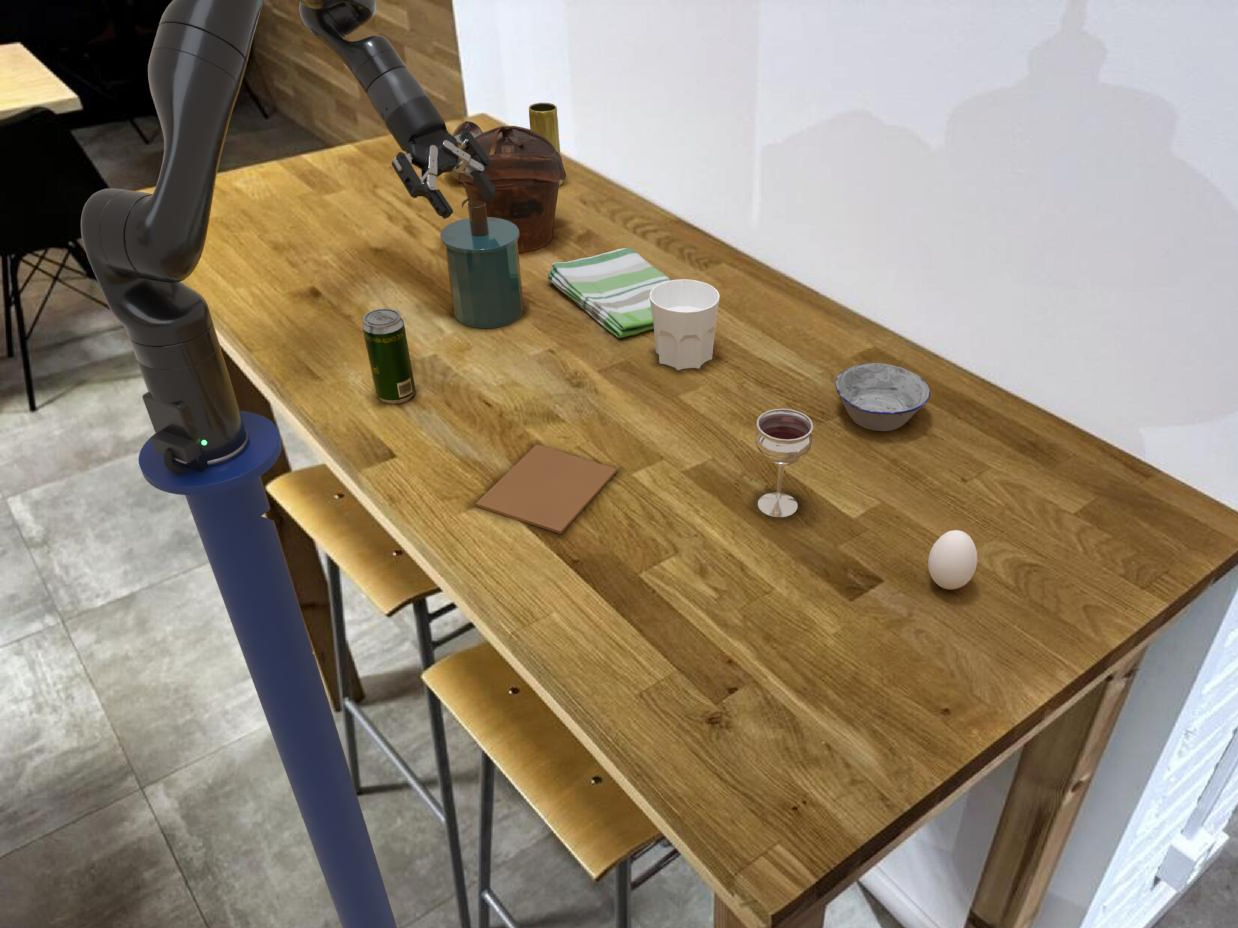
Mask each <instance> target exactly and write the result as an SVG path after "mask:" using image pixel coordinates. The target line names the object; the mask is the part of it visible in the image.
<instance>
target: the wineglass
mask: <svg viewBox="0 0 1238 928" xmlns="http://www.w3.org/2000/svg"><path fill="white" fill-rule="evenodd" d="M756 426H757V429H756V432H755V437H754V442H755V446H756V449H757V451H758V453H759V455H761V457H763V458H764V459H765V460H766V461H768V462H769V463H771V464H772V465H776V466H777V479H776V480H777V482H776V483H777V484H776V492H768V493H766V494H764V495H762V496H761V497H759V499H758V501H757V507H758V509H759V510H760V511H761V512H762V513H763V514H765V515H767V516H770V517H773V518H786V517H790V516H791V515H793V514H794V513H795V512H796V511H797V510H798V505H799V504H798V502H797V500H796V499H795V498H794V497H793V496H791V495H789V494H787V493H783V492H782V487H783V479H784V478H783V477H784V472H785V471H784V470H785V466H791V465H794V464H796V463H798V462H800V461H801V460H803V459H804V458H806V456H807V455H808V453H809V452H810V449H811V447H812V444H813V434H812V431H813V430H814V423H813V422H812V419H811V418H810V417H809V416H808V415H806V414H805V413H802V412H801V411H799V410H794V409H791V408H773V409H770V410H767V411H764V412H763V413H762V414H760V415H759V417H758V418H757V419H756Z"/></svg>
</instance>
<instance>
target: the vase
mask: <svg viewBox="0 0 1238 928" xmlns="http://www.w3.org/2000/svg"><path fill="white" fill-rule="evenodd" d="M528 118H529V119H528V121H529V129H530V130H533V131H535V132H537V133H539V134H541V135H542V136H544V137H545V138H546V139H547V140H548V141H549V142H550V143H551V144H552V145H553V146H554V148H555V150H556V151H557V152H558V153H559V154H560V156H561V157H562V153H561V144H560V131H559V118H558V107H557V106H556V104H554V103H551V102H536V103H532V104H530V105H529V106H528ZM559 181H560V183H559V187H560V186H561V185H563V184H564V182H565V179H564V180H561V179H560V180H559Z"/></svg>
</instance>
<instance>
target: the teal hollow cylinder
mask: <svg viewBox="0 0 1238 928" xmlns="http://www.w3.org/2000/svg"><path fill="white" fill-rule="evenodd" d="M444 253H445V259H446V266H447V273H448V280H449V287H450V295H451V301H452V308H453V312H454V317H455V319H456V320H457V321H458V322H459V323H461V324H463V325H465V326H468V327H471V328H476V329H496V328H502V327H505V326H508V325H511V324H513V323H514V322H517V321H518V320H519V319H521V317H522V315H523V313H524V297H523V287H522V286H523V285H522V276H521V275H522V274H521V263H520V255H519V253H520V252H518V242H516V243H514V244H513V245H512V246H510V247H508V248H505V249H503V250H499V251H495V252H490V253H464V252H458V251H455V250H452V249H450V248H448V247H446V246H445V245H444Z"/></svg>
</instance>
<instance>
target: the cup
mask: <svg viewBox="0 0 1238 928" xmlns="http://www.w3.org/2000/svg"><path fill="white" fill-rule="evenodd" d="M670 280H671V281H666V282H663V283H661V284H658V285H657V286H655V287H654V288H653V289H652V290H651V291H650V304H651V311H652V319H653V324H654V329H653V334H654V346H655V347H654V348H655V353H656V354H657V355H658V359H659V360H658V361H659V364H660V365H666V366H669V367H671V368H674V369H675V370H677V371H680V370H683V369H685V370H686V369H701V367H702V365H704V364H705V363H706V362H708V361H712V360H713V354H714V345H715V338H716V337H715V335H716V327H717V320H718V319H717V318H718V312H719V306H720V305H719V304H720V298H721V297H720V296H721V295H720V293H719V291H718V289H717V288H715V286H713V285H711V284H709V283H706V282H704V281H701V280H694V279H683V278H681V279H670Z"/></svg>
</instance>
